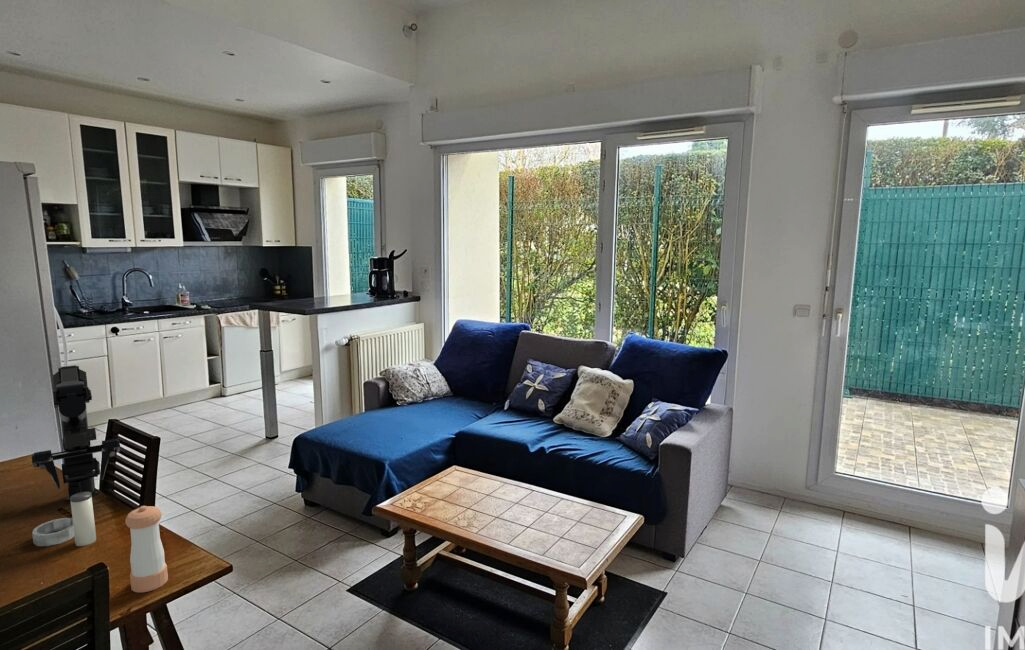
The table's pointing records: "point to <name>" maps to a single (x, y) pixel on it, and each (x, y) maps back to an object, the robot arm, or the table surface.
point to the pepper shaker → (146, 550)
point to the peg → (83, 518)
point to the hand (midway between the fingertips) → (81, 483)
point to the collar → (43, 530)
